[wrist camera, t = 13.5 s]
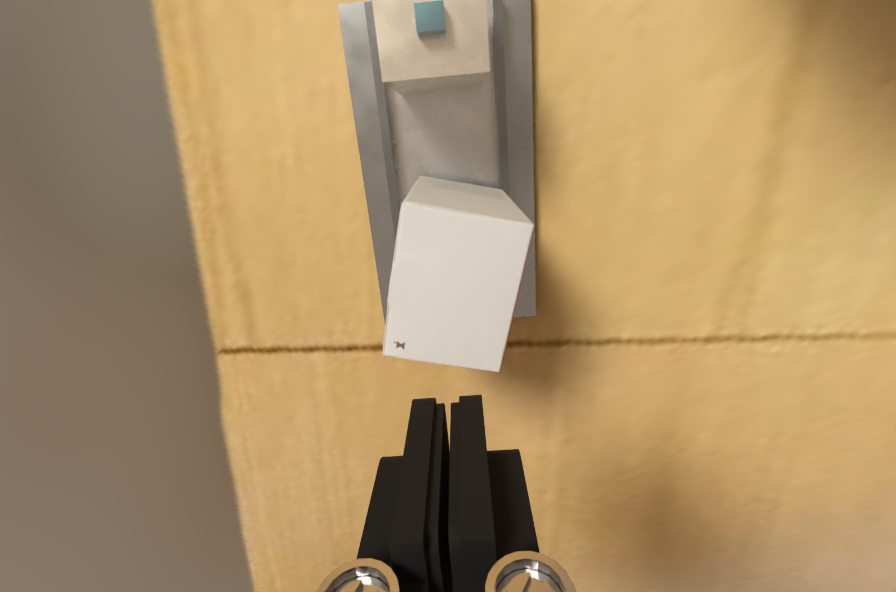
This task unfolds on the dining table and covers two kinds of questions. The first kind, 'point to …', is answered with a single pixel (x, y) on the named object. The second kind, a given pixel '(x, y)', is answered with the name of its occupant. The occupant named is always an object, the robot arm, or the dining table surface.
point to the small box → (455, 274)
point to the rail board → (441, 107)
